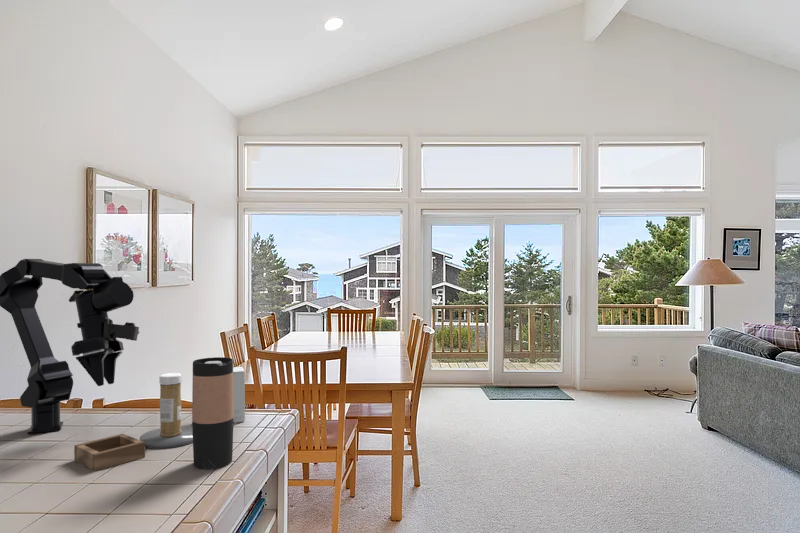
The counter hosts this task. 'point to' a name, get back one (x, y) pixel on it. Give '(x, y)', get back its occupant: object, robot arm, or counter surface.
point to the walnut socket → (109, 451)
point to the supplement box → (239, 394)
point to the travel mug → (212, 412)
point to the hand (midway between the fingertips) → (106, 384)
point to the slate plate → (167, 438)
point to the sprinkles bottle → (170, 404)
